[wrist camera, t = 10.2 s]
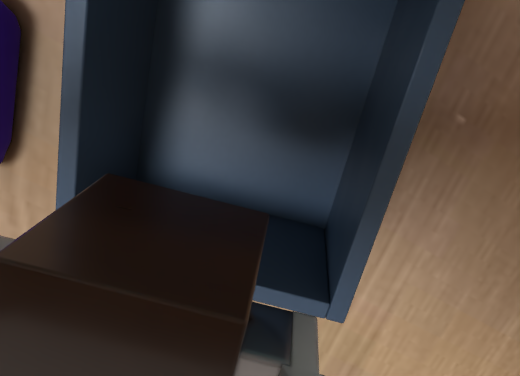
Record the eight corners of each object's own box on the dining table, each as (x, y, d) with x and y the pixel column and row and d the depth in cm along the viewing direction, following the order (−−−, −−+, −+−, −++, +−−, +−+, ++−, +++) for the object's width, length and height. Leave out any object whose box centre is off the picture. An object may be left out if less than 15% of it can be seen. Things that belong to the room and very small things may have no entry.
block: (107, 171, 10) (-12, 256, 6) (270, 212, 10) (247, 323, 6) (94, 306, 12) (-8, 439, 8) (236, 342, 11) (201, 495, 8)
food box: (333, 237, 25) (343, 324, 18) (126, 185, 25) (52, 249, 18) (432, -60, 19) (508, -114, 12) (162, -125, 19) (74, -216, 12)
